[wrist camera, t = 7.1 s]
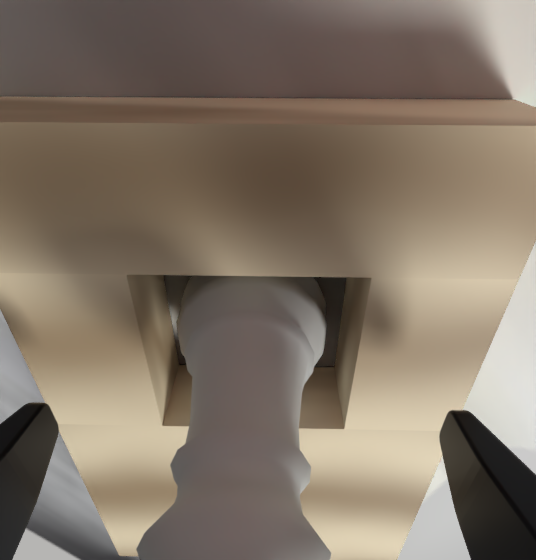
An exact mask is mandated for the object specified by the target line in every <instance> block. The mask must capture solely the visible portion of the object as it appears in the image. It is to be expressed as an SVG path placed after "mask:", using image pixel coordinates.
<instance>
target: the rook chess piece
mask: <svg viewBox="0 0 536 560" xmlns="http://www.w3.org/2000/svg"><path fill="white" fill-rule="evenodd" d="M180 304H181V311H180V314H179V316H178V319H177V332H178V338H179V343H180V349H181V353H182V355H183V356H184V357H185V359H186V365H187V370H188V372H189V373H190V374H191V376H192V394H191V413H190V424H189V429H188V434H187V438H186V443H185V444H184V445H183V446H182V447H180V448H179V449H178V450H177V452H176V454H175V456H174V458H173V460H172V462H171V464H170V466H171V470H172V474H173V478H174V481H175V483H176V484H177V486H178V488H177V497H176V500H175V503H174V504H173V505H172V506H171V507H170V508H169V509H168V510H167V511H166V512H165V513H164V514H163V515H162V516H161V517H160V518H159V519H158V520H157V521H156V522H155V523H154V524H153V525H152V526H151V527H150V528H149V529H148V530H147V531H146V532H145V533H144V535H143V537H142V539H141V541H140V543H139V544H138V546H137V548H136V550H137V553H138V556H139V558H140V560H330V558H331V552H330V550H329V549H328V548H327V546H326V545H325V544H324V542H323V541H322V540H321V538H320V537H319V536H318V534H317V533H316V531H315V530H314V529H313V527H312V526H311V525H310V523H309V522H308V521H307V519H306V518H305V516H304V515H303V513H302V507H301V501H300V494H301V493H302V491H303V490H304V489H305V488H306V486H307V485H308V484H309V482H310V474H311V466H310V464H309V463H308V461H307V460H306V458H305V456H304V455H303V453H302V452H301V451H300V443H299V418H300V408H301V398H302V391H303V387H304V384H305V383H306V382H307V380H308V379H309V377H310V376H311V374H312V373H313V369H314V366H315V365H316V363H317V362H318V360H319V359H320V357H321V356H322V354H323V350H324V346H325V339H326V329H327V322H326V319H325V313H326V302H325V299H324V297H323V294H322V292H321V290H320V287H319V285H318V283H317V281H316V280H315V279H314V278H313V277H278V276H198V275H194V276H192V277H191V278H190V279H189V280H188V282H187V285H186V288H185V291H184V294H183V296H182V299H181V302H180Z"/></svg>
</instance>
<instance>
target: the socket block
mask: <svg viewBox="0 0 536 560" xmlns="http://www.w3.org/2000/svg"><path fill="white" fill-rule="evenodd" d="M535 241H536V107H533V106H530V105H528V104H525V103H522V102H520V101H517V100H489V99H327V98H165V97H4V96H0V309H1V311H2V313H3V315H4V318H5V320H6V322H7V324H8V326H9V328H10V330H11V332H12V334H13V336H14V338H15V340H16V342H17V344H18V347H19V349H20V351H21V353H22V355H23V357H24V359H25V361H26V363H27V365H28V367H29V369H30V371H31V374H32V376H33V378H34V380H35V382H36V384H37V386H38V388H39V390H40V392H41V394H42V396H43V398H44V401H45V403H47V404H48V405H49V406H50V408H51V410H52V412H53V414H54V417H55V419H56V421H57V423H58V427H59V432H60V434H61V436H62V438H63V440H64V442H65V444H66V446H67V448H68V450H69V452H70V454H71V457H72V459H73V461H74V463H75V465H76V467H77V469H78V471H79V473H80V475H81V477H82V479H83V481H84V484H85V486H86V488H87V490H88V492H89V494H90V496H91V498H92V500H93V502H94V504H95V506H96V508H97V510H98V513H99V515H100V517H101V519H102V521H103V523H104V525H105V527H106V529H107V531H108V533H109V535H110V537H111V540H112V542H113V544H114V546H115V548H116V550H117V552H118V554H119V556H138V553H137V550H136V548H137V546H138V544H139V543H140V541H141V539H142V537H143V535H144V533H145V532H146V531H147V530H148V529H149V528H150V527H151V526H152V525H153V524H154V523H155V522H156V521H157V520H158V519H159V518H160V517H161V516H162V515H163V514H164V513H165V512H166V511H167V510H168V509H169V508H170V507H171V506H172V505H173V504H174V503H175V500H176V497H177V488H178V486H177V484H176V483H175V481H174V478H173V474H172V470H171V466H170V464H171V462H172V460H173V458H174V456H175V454H176V452H177V450H178V449H179V448H180V447H182V446H183V445H184V444H185V443H186V438H187V434H188V429H189V424H190V413H191V394H192V376H191V374H190V373H189V372H188V370H187V365H179V361H178V356H177V350H176V344H175V338H174V333H173V327H172V321H171V316H170V310H169V304H168V299H167V293H166V287H165V282H164V276H163V275H198V276H278V277H347V279H346V286H345V294H344V301H343V308H342V315H341V323H340V330H339V337H338V344H337V352H336V359H335V366H334V367H314V369H313V373H312V374H311V376H310V377H309V379H308V380H307V382H306V383H305V384H304V387H303V391H302V398H301V408H300V418H299V443H300V451H301V452H302V453H303V455H304V456H305V458H306V460H307V461H308V463H309V464H310V466H311V474H310V482H309V484H308V485H307V486H306V488H305V489H304V490H303V491H302V493H301V494H300V501H301V507H302V513H303V515H304V516H305V518H306V519H307V521H308V522H309V523H310V525H311V526H312V527H313V529H314V530H315V531H316V533H317V534H318V536H319V537H320V538H321V540H322V541H323V542H324V544H325V545H326V546H327V548H328V549H329V550H330V552H331V558H330V560H397V558H398V556H399V554H400V552H401V549H402V547H403V545H404V543H405V540H406V538H407V536H408V533H409V531H410V528H411V526H412V524H413V522H414V520H415V517H416V515H417V513H418V510H419V508H420V506H421V503H422V501H423V499H424V497H425V494H426V492H427V490H428V487H429V485H430V483H431V480H432V478H433V476H434V474H435V471H436V469H437V467H438V464H439V462H440V460H441V457H442V450H441V446H440V441H439V434H440V430H441V428H442V425H443V423H444V420H445V418H446V415H447V413H448V412H449V411H450V410H462V409H463V407H464V405H465V402H466V400H467V398H468V395H469V393H470V391H471V388H472V386H473V384H474V382H475V379H476V377H477V375H478V372H479V370H480V368H481V365H482V363H483V361H484V359H485V356H486V354H487V352H488V349H489V347H490V345H491V342H492V340H493V338H494V336H495V333H496V331H497V329H498V326H499V324H500V322H501V319H502V317H503V315H504V313H505V310H506V308H507V306H508V303H509V301H510V299H511V296H512V294H513V292H514V290H515V287H516V285H517V283H518V280H519V278H520V276H521V273H522V271H523V269H524V267H525V264H526V262H527V260H528V257H529V255H530V253H531V250H532V248H533V246H534V244H535Z"/></svg>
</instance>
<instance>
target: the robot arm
mask: <svg viewBox="0 0 536 560" xmlns="http://www.w3.org/2000/svg"><path fill="white" fill-rule="evenodd" d="M58 432H59V427H58V423H57V421H56V419H55V417H54V414H53V412H52V410H51V408H50V406H49V405H48V404H47V403H28V404H26V405H24V406H23V407H21V408H20V409H19V410H17V411H16V412H15V413H14V414H12V415H11V416H10V417H9V418H7V419H6V420H5V421H4V422H2V423H1V424H0V560H12V559H13V556H14V554H15V552H16V549H17V547H18V545H19V542H20V540H21V538H22V535H23V533H24V531H25V528H26V526H27V524H28V522H29V519H30V517H31V515H32V512H33V510H34V507H35V505H36V502H37V499H38V496H39V493H40V490H41V487H42V484H43V481H44V478H45V475H46V471H47V468H48V465H49V462H50V459H51V456H52V452H53V449H54V446H55V443H56V440H57V437H58ZM439 441H440V446H441V450H442V455H443V459H444V464H445V468H446V473H447V477H448V482H449V486H450V491H451V495H452V500H453V504H454V508H455V512H456V515H457V518H458V521H459V525H460V528H461V531H462V533H463V537H464V540H465V543H466V546H467V549H468V552H469V555H470V558H471V560H536V475H535V474H534V473H533V472H532V471H531V470H530V469H529V468H528V467H527V466H526V465H525V464H524V463H523V462H522V461H521V460H520V459H519V458H518V457H517V456H516V455H515V454H514V453H513V452H512V451H511V450H509V449H508V448H507V447H506V446H505V445H504V444H503V443H502V442H501V441H500V440H499V439H498V438H497V437H496V436H495V435H494V434H493V433H492V432H491V431H490V430H489V429H488V428H487V427H486V426H484V425H483V424H482V423H481V422H480V421H479V420H478V419H477V418H476V417H475V416H474V415H473V414H472V413H470V412H469V411H466V410H450V411H449V412H448V413H447V415H446V418H445V420H444V423H443V425H442V428H441V430H440V434H439Z"/></svg>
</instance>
